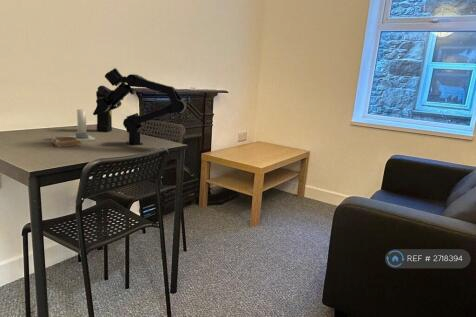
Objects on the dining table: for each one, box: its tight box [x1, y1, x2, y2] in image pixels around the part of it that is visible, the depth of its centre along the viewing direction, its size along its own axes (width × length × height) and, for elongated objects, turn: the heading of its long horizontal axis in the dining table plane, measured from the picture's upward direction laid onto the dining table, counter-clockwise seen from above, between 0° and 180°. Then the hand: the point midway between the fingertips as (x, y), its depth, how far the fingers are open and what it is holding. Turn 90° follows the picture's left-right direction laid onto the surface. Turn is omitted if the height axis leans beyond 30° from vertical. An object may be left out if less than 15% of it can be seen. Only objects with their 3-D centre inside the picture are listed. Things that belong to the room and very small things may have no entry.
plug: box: [75, 108, 90, 139], centre depth 174 cm, size 6×6×14 cm
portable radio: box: [95, 91, 113, 133], centre depth 198 cm, size 8×6×25 cm
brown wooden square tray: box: [51, 135, 82, 148], centre depth 162 cm, size 10×10×2 cm
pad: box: [68, 134, 97, 142], centre depth 176 cm, size 10×10×1 cm
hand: (97, 113), depth 173 cm, fingers open, 9 cm apart
